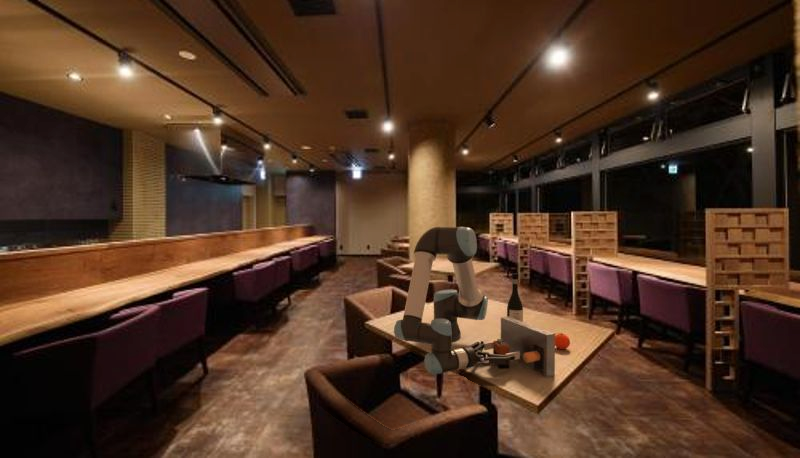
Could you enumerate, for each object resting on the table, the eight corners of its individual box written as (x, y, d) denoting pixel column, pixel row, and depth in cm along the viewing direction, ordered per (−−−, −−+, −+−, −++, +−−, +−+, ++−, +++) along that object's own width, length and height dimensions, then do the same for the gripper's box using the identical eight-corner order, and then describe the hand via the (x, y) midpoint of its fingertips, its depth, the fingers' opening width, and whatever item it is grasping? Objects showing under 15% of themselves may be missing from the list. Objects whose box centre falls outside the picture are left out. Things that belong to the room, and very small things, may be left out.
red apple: (548, 346, 168) (548, 331, 168) (559, 344, 170) (559, 329, 170) (561, 352, 160) (561, 336, 160) (573, 350, 163) (573, 334, 162)
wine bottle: (524, 332, 189) (525, 274, 188) (509, 332, 189) (509, 274, 188) (520, 327, 197) (520, 272, 196) (505, 327, 197) (505, 272, 196)
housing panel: (500, 353, 159) (500, 317, 159) (508, 352, 161) (508, 316, 160) (546, 377, 135) (546, 335, 135) (554, 375, 137) (554, 333, 136)
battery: (503, 361, 150) (503, 338, 150) (509, 368, 143) (509, 343, 143) (492, 362, 150) (492, 338, 149) (499, 369, 143) (499, 344, 143)
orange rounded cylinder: (523, 360, 138) (523, 351, 138) (533, 358, 140) (533, 349, 140) (529, 364, 135) (530, 354, 135) (540, 362, 137) (540, 352, 137)
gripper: (446, 356, 151) (488, 348, 159) (483, 380, 128) (529, 370, 137) (446, 338, 150) (488, 331, 159) (483, 359, 128) (529, 350, 136)
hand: (507, 349), depth 148 cm, fingers open, 12 cm apart
